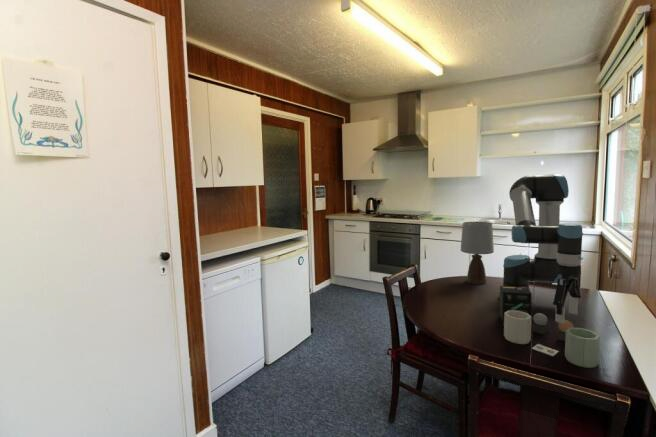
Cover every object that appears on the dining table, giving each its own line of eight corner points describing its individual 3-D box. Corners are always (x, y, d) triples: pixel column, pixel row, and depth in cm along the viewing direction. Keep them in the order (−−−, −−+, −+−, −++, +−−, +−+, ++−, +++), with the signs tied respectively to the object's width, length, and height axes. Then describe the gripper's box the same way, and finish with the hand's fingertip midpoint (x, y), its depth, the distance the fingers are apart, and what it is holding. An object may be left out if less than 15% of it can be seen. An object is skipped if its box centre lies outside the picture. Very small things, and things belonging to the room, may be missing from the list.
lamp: (500, 284, 197) (501, 223, 193) (475, 288, 191) (476, 226, 187) (477, 276, 214) (478, 220, 210) (453, 279, 209) (454, 222, 205)
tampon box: (525, 317, 149) (526, 286, 147) (531, 326, 140) (532, 293, 138) (499, 315, 152) (499, 285, 151) (502, 323, 144) (503, 291, 142)
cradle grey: (532, 331, 136) (533, 324, 135) (536, 328, 138) (537, 321, 137) (543, 334, 132) (543, 327, 132) (546, 331, 135) (547, 324, 134)
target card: (531, 348, 122) (531, 347, 122) (537, 344, 125) (537, 343, 125) (553, 356, 116) (553, 355, 116) (558, 351, 119) (558, 350, 119)
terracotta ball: (555, 332, 128) (556, 320, 128) (560, 328, 131) (561, 316, 130) (570, 337, 124) (571, 324, 124) (575, 333, 127) (576, 320, 126)
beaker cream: (500, 338, 131) (501, 314, 130) (510, 331, 136) (511, 308, 135) (523, 346, 124) (524, 321, 123) (533, 339, 129) (534, 315, 128)
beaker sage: (561, 359, 114) (562, 332, 113) (570, 351, 119) (572, 325, 118) (592, 370, 107) (593, 341, 106) (600, 361, 112) (602, 333, 111)
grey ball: (530, 324, 135) (531, 313, 135) (536, 321, 138) (536, 310, 138) (544, 329, 131) (544, 317, 131) (549, 325, 134) (549, 313, 134)
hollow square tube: (557, 339, 128) (558, 331, 128) (561, 336, 130) (561, 329, 130) (569, 342, 125) (569, 335, 125) (572, 339, 127) (573, 332, 127)
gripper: (568, 271, 114) (565, 329, 116) (591, 260, 129) (589, 312, 131) (543, 267, 120) (542, 323, 122) (569, 257, 135) (567, 307, 137)
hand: (566, 317), depth 127 cm, fingers open, 13 cm apart
